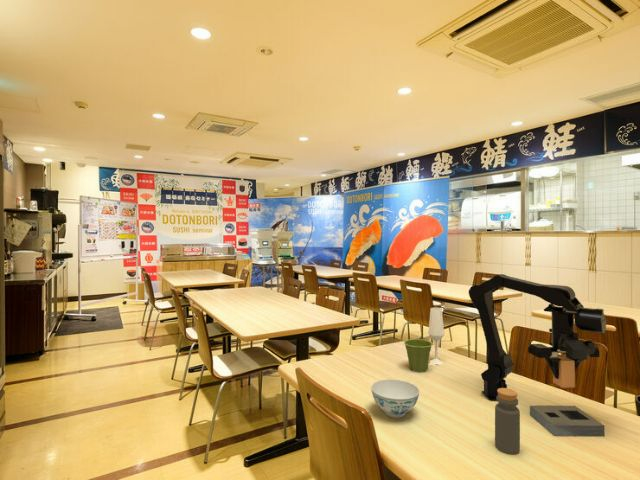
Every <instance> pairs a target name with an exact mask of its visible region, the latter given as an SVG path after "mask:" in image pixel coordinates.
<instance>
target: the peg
mask: <svg viewBox="0 0 640 480" xmlns="http://www.w3.org/2000/svg"><path fill="white" fill-rule="evenodd" d="M558 358H560V359H561V360H560V361H559V379H556V378H555V376H554V374H553V373H552V376H553V377H552V382H553V383H554V384H555V385H556V386H558V387H560V388H567V389H568V388H576V372H575V361H574V360H572V359H569V358H567V357H566V356H558Z"/></svg>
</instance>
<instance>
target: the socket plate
mask: <svg viewBox="0 0 640 480" xmlns="http://www.w3.org/2000/svg"><path fill="white" fill-rule="evenodd" d="M529 416H530V417H532V418H533V419H534V420H535V421H536V422H537V423H539V424H540V425H541V426H542V427H543V428H544V429H546V430H547V432H549V433H550V434H551V436H553V437H605V434H606V433H605V432H606V430H605V427H606V426H605V424H603V423H601V422H600V421H599V420H597V419H596V418H594V417H592V416H591V415H589V414H588V413H586V412H585V411H584V410H582V409H580V408H579V407H578V406H576V405H533V404H532V405H530V404H529Z"/></svg>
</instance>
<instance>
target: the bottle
mask: <svg viewBox="0 0 640 480" xmlns="http://www.w3.org/2000/svg"><path fill="white" fill-rule="evenodd" d="M497 391H498V395H497V400H496V401H497V403H496V404H495V406H494V446H495V447H496V448H495V449H497V450H498V451H500V452H501V453H504V454H508V455H516V454H517V455H518V454H519V453H520V450H521V449H520V448H521V417H520V416H521V413H520V412H521V411H520V409H519V408H518V407H517V406H518V405H519V399H518V392H517V391H516V390H514V389H511V388H508V387H507V388H499V389H498V390H497Z"/></svg>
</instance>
